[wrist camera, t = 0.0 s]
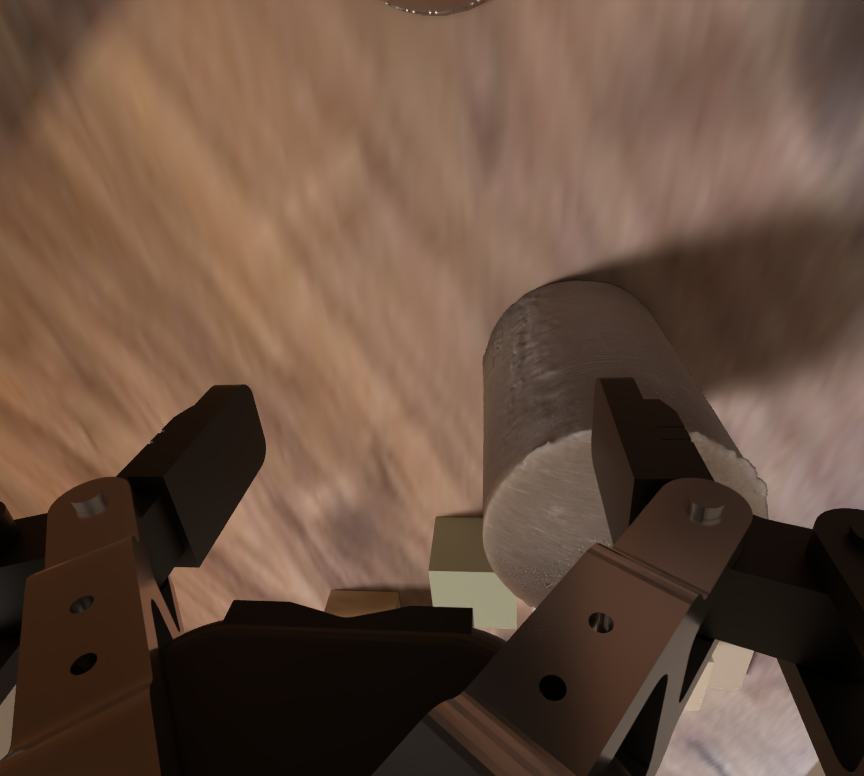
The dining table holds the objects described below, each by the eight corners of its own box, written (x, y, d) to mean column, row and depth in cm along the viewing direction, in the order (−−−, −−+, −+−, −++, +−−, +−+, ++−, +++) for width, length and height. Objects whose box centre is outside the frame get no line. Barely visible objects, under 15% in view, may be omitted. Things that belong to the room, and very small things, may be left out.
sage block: (435, 515, 38) (428, 570, 34) (514, 516, 37) (516, 573, 33) (441, 569, 41) (435, 625, 37) (514, 570, 40) (516, 629, 36)
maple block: (331, 588, 43) (314, 644, 39) (398, 590, 42) (387, 647, 38) (342, 631, 46) (327, 687, 42) (405, 634, 45) (396, 691, 41)
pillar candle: (564, 455, 34) (610, 693, 21) (448, 360, 31) (420, 566, 18) (699, 355, 30) (859, 575, 17) (577, 234, 27) (659, 389, 14)
